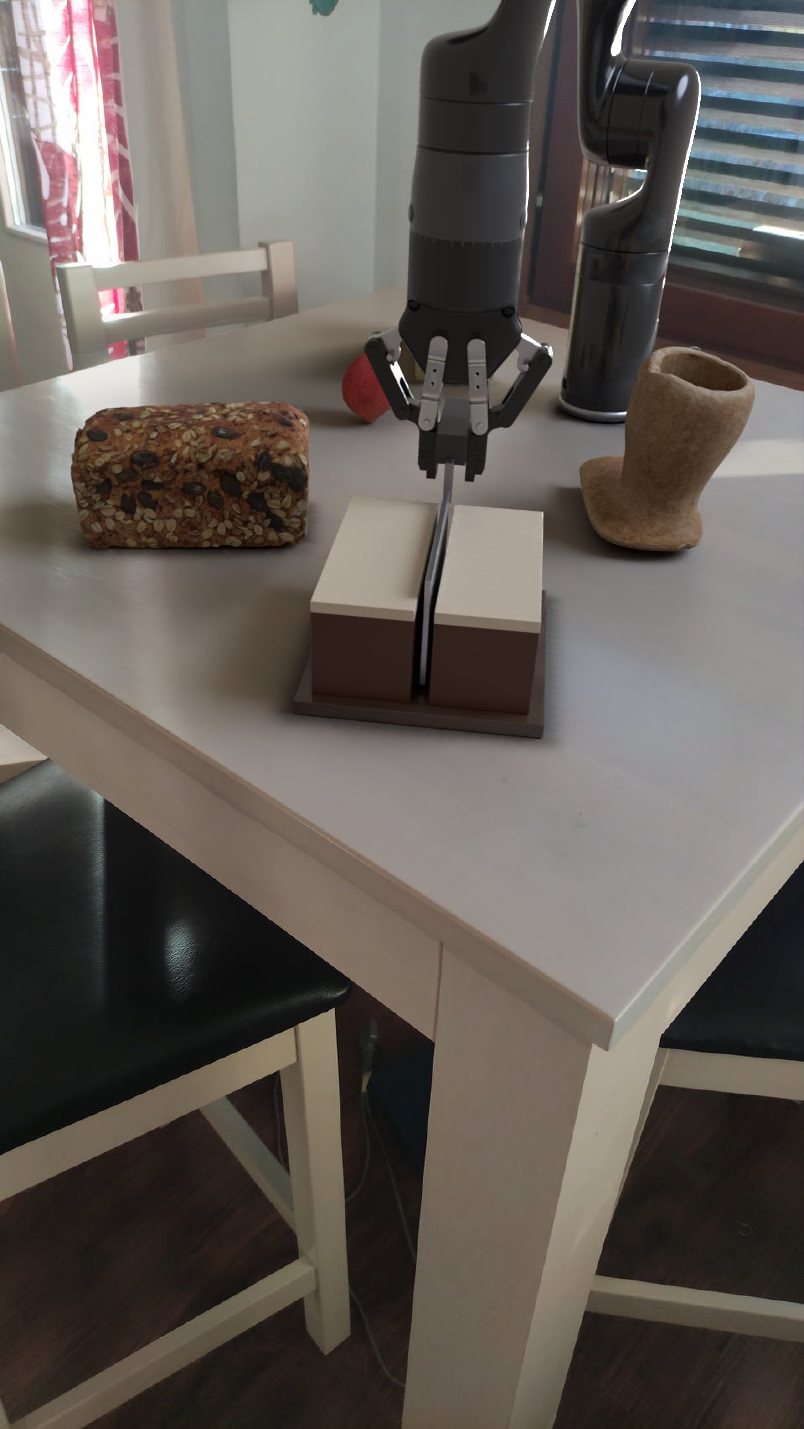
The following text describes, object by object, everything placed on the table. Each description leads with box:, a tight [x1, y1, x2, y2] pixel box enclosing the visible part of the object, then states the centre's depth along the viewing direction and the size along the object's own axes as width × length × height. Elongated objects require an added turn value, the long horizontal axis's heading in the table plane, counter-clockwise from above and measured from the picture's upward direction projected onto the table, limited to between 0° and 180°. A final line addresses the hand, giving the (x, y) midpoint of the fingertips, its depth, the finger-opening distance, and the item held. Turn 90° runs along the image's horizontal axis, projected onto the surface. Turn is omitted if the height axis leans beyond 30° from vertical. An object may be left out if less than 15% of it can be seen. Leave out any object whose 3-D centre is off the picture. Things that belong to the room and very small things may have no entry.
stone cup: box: [578, 346, 756, 552], centre depth 89 cm, size 15×12×15 cm
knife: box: [419, 396, 471, 685], centre depth 75 cm, size 23×2×11 cm, turn 173°
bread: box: [70, 400, 311, 550], centre depth 87 cm, size 19×11×10 cm, turn 94°
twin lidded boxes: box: [292, 495, 547, 739], centre depth 72 cm, size 18×16×8 cm
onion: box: [341, 351, 391, 424], centre depth 109 cm, size 6×6×8 cm
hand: (450, 475), depth 78 cm, fingers closed on knife, 2 cm apart
